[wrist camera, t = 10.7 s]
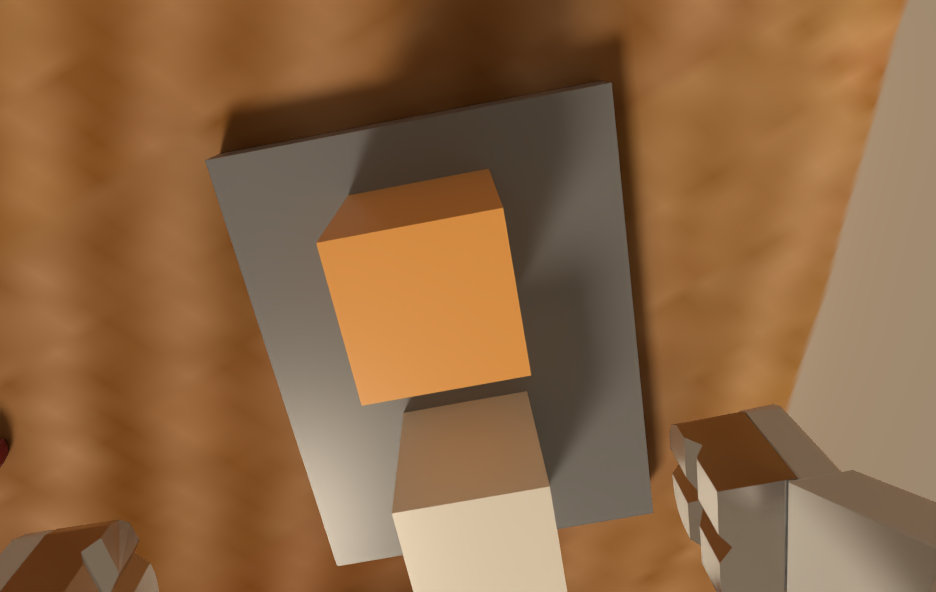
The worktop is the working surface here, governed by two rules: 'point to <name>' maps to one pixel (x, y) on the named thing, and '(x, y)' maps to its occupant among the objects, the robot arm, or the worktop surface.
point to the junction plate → (475, 407)
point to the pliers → (3, 451)
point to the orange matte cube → (425, 288)
